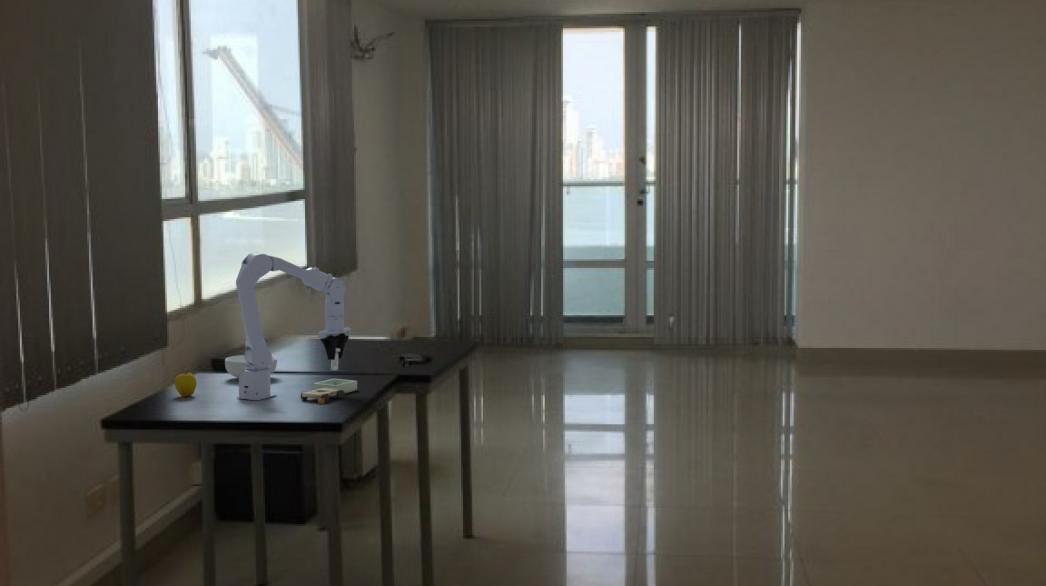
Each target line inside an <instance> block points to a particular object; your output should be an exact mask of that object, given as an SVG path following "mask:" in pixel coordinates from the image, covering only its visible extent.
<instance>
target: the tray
mask: <svg viewBox="0 0 1046 586" xmlns="http://www.w3.org/2000/svg"><path fill="white" fill-rule="evenodd" d="M317 388H334V389H343V391H344V393H345V394H347V393H348V394H349V393H350V392H351V393H352V392H355V390H356V391H358V380H351V379H343V378H341V379H340V378H331V379H326V380H322V381H318V382H317V381H316V382H313V383H312V390H316V389H317Z"/></svg>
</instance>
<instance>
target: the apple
mask: <svg viewBox="0 0 1046 586" xmlns="http://www.w3.org/2000/svg"><path fill="white" fill-rule="evenodd" d="M196 387H197V379H196V377H195V375H194V373H191V372H189V370H187V371H186V372H184V373H180V374H178V375H177V376H175V379H174V388H175V389H176V391H177V392H178V393H179V395H180V396H181V397H183V398H187V397H190V396H193V395H194V393H195V391H196Z"/></svg>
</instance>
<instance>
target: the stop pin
mask: <svg viewBox="0 0 1046 586" xmlns="http://www.w3.org/2000/svg"><path fill="white" fill-rule="evenodd" d="M339 351H340V348H336V353H335V360H330V371H339V358H338V355H339Z"/></svg>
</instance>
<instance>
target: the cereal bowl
mask: <svg viewBox="0 0 1046 586" xmlns="http://www.w3.org/2000/svg"><path fill="white" fill-rule="evenodd" d="M224 359H225V360H224V366H225V370H226V371H227V373H228V374H229V375H231V376H232V377H235V378H237V379H239V376H240V374H241V373H242V372H244V371H245V370H246V366H247V364H248V362H247V361H246V360H245V357H244V354H243V355H242V354H241V355H233V356H228V357H226V358H224ZM277 362H278V359H277V357H275V356H272V361H271V363H270V365H269V366H270V376H271V375H272V374H274V372H275V371H276V369H277V365H278V363H277Z"/></svg>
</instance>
